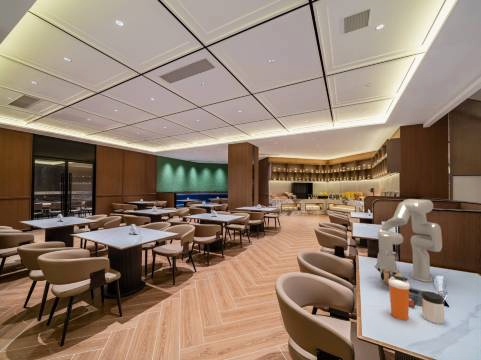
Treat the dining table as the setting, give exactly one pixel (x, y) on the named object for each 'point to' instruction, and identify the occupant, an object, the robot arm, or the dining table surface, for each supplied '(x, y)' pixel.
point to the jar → (432, 307)
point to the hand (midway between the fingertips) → (387, 280)
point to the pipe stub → (386, 277)
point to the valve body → (415, 297)
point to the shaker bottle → (399, 296)
